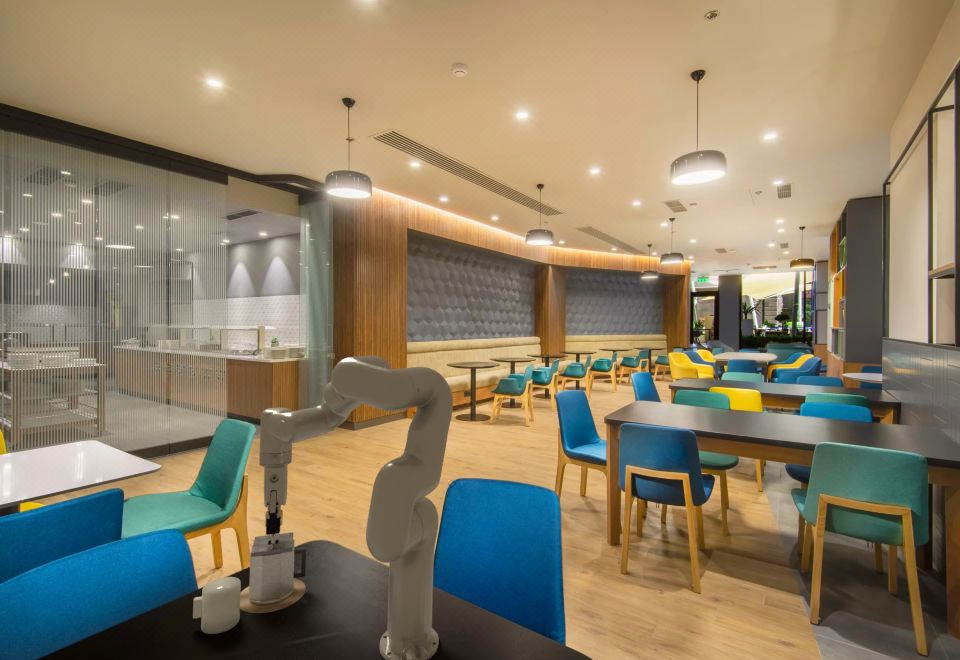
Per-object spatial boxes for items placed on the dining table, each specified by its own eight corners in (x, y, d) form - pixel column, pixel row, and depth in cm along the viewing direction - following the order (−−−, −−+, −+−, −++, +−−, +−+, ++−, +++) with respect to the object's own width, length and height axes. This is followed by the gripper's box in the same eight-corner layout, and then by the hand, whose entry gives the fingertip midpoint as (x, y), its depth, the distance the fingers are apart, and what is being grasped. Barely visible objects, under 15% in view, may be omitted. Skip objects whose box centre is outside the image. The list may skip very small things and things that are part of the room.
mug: (237, 632, 102) (238, 591, 102) (189, 641, 99) (190, 599, 99) (241, 612, 109) (242, 574, 109) (196, 620, 106) (198, 581, 106)
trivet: (305, 608, 111) (305, 605, 111) (231, 621, 106) (231, 618, 106) (305, 575, 126) (305, 572, 126) (240, 585, 121) (240, 582, 121)
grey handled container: (304, 599, 114) (306, 546, 114) (246, 609, 109) (247, 554, 110) (304, 578, 124) (306, 529, 124) (251, 586, 119) (252, 536, 119)
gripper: (290, 465, 110) (288, 542, 110) (292, 448, 126) (290, 515, 125) (256, 467, 107) (253, 546, 107) (262, 450, 123) (260, 518, 123)
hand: (273, 529), depth 116 cm, fingers closed on plunger, 4 cm apart
